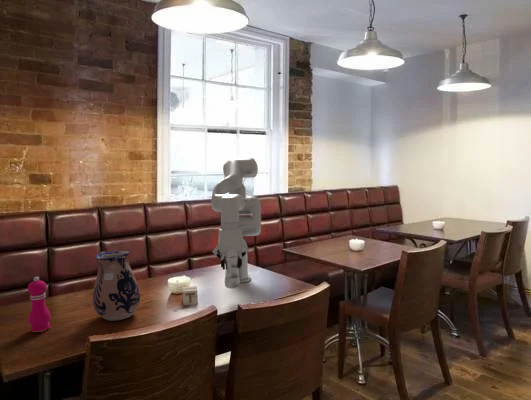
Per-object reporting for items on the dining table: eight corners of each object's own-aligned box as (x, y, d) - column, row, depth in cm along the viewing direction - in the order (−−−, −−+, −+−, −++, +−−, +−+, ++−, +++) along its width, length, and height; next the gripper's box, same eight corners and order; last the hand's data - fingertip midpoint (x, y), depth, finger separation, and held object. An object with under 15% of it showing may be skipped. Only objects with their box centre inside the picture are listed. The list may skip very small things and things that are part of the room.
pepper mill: (35, 326, 157) (30, 274, 155) (55, 325, 158) (50, 273, 156) (25, 334, 150) (20, 280, 148) (46, 333, 151) (42, 279, 149)
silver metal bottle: (242, 286, 180) (241, 239, 178) (236, 290, 173) (235, 243, 171) (228, 284, 182) (227, 239, 180) (221, 289, 175) (220, 242, 173)
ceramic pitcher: (114, 329, 153) (110, 262, 150) (78, 318, 164) (74, 255, 161) (150, 313, 168) (147, 251, 165) (115, 304, 179) (112, 246, 176)
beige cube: (183, 300, 182) (182, 287, 181) (197, 299, 183) (196, 285, 183) (183, 305, 176) (182, 291, 175) (197, 304, 177) (197, 290, 176)
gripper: (249, 223, 180) (250, 264, 182) (208, 225, 177) (210, 267, 179) (252, 226, 173) (253, 268, 175) (210, 228, 169) (211, 272, 171)
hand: (231, 267), depth 177 cm, fingers closed on silver metal bottle, 6 cm apart
